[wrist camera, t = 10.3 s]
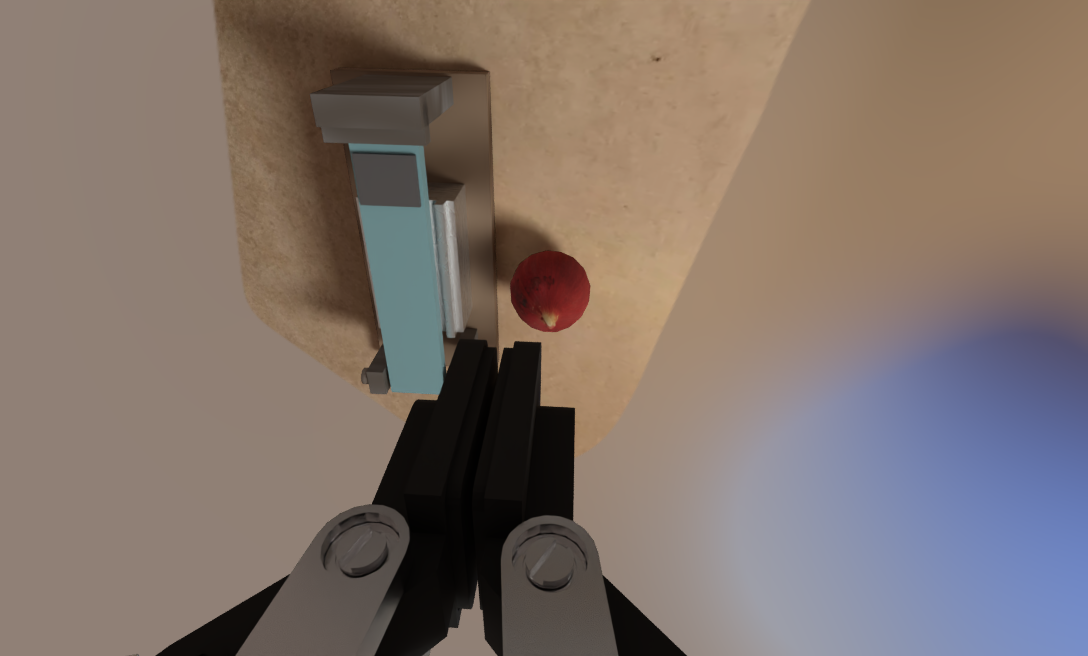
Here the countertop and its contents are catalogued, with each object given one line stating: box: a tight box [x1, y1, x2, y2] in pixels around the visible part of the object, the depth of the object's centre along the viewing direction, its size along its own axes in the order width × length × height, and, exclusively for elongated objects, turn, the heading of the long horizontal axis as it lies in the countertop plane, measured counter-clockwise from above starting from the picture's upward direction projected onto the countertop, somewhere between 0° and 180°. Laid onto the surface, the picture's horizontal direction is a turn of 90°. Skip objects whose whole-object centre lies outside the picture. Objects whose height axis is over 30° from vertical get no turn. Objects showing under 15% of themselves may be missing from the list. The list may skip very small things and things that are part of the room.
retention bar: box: [348, 143, 446, 394], centre depth 35 cm, size 18×4×1 cm, turn 179°
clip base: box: [310, 68, 499, 394], centre depth 37 cm, size 23×10×10 cm, turn 179°
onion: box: [510, 251, 590, 332], centre depth 38 cm, size 6×6×8 cm
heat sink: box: [356, 183, 472, 338], centre depth 38 cm, size 10×6×4 cm, turn 179°
